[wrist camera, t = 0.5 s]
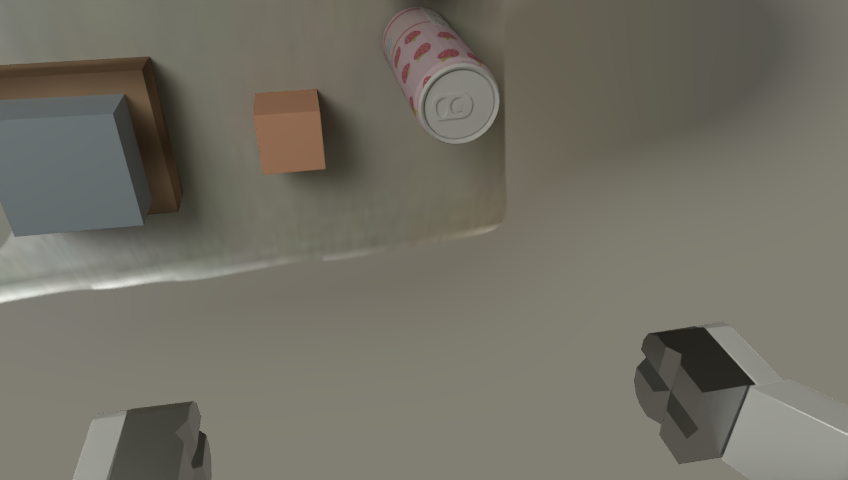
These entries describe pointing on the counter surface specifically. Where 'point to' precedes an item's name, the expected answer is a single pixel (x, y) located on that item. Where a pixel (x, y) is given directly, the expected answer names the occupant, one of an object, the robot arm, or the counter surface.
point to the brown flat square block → (105, 80)
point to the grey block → (70, 165)
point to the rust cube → (289, 131)
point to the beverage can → (440, 76)
